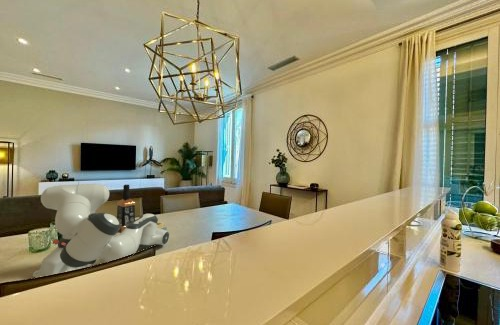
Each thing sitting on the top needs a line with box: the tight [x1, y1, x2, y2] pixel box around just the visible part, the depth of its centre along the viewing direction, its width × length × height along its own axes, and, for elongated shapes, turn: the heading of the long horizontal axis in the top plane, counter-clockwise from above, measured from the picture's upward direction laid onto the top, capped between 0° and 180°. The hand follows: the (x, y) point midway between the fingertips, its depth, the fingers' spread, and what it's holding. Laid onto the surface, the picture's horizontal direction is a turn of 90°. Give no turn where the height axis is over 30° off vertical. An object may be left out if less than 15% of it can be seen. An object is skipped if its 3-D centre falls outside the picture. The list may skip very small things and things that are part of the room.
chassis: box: [157, 221, 167, 231], centre depth 153 cm, size 14×14×4 cm
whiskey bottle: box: [116, 184, 137, 233], centre depth 153 cm, size 10×10×32 cm
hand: (130, 229), depth 138 cm, fingers closed on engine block, 5 cm apart
